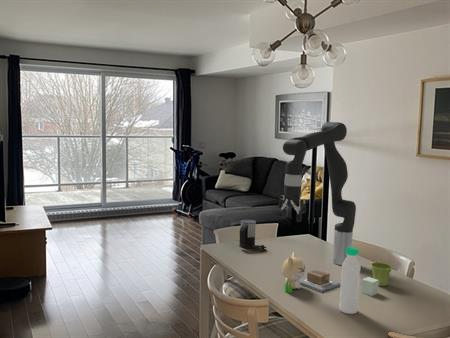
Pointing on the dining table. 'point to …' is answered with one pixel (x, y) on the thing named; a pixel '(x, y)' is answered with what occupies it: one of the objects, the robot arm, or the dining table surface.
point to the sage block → (370, 286)
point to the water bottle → (350, 282)
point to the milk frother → (248, 234)
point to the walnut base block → (318, 277)
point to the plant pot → (381, 272)
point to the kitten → (293, 272)
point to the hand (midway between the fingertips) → (291, 219)
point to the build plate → (316, 287)
